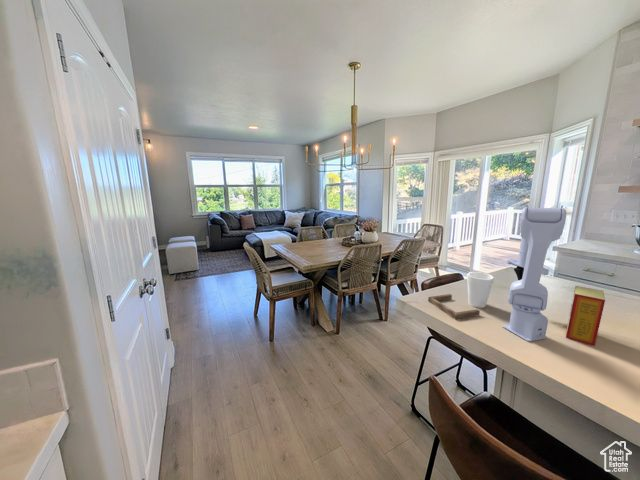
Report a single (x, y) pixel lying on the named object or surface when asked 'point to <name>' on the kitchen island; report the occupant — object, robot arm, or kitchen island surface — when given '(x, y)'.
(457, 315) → the walnut corral
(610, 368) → the kitchen island surface
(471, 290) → the foam cup
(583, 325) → the baking soda box
